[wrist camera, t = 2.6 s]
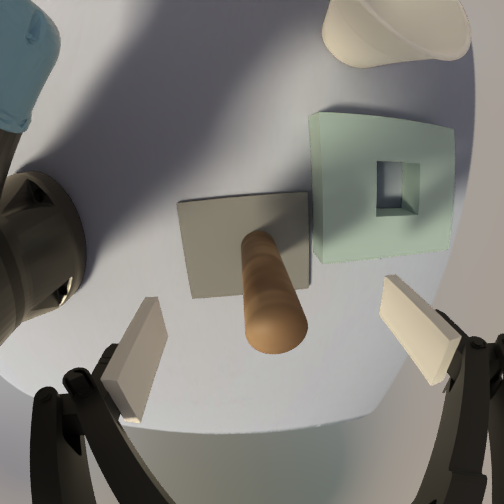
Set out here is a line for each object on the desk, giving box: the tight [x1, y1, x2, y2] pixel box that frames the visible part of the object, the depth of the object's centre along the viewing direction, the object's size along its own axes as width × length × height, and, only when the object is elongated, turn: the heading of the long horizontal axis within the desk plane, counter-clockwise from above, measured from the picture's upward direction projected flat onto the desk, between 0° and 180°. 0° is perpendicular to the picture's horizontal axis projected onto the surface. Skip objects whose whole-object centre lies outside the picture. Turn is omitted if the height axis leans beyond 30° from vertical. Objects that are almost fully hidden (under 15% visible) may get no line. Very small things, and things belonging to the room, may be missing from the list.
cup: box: [322, 0, 471, 68], centre depth 13 cm, size 10×10×11 cm
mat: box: [177, 192, 309, 299], centre depth 24 cm, size 11×9×1 cm
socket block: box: [308, 112, 455, 264], centre depth 22 cm, size 14×12×3 cm
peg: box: [241, 231, 308, 354], centre depth 18 cm, size 3×3×12 cm
